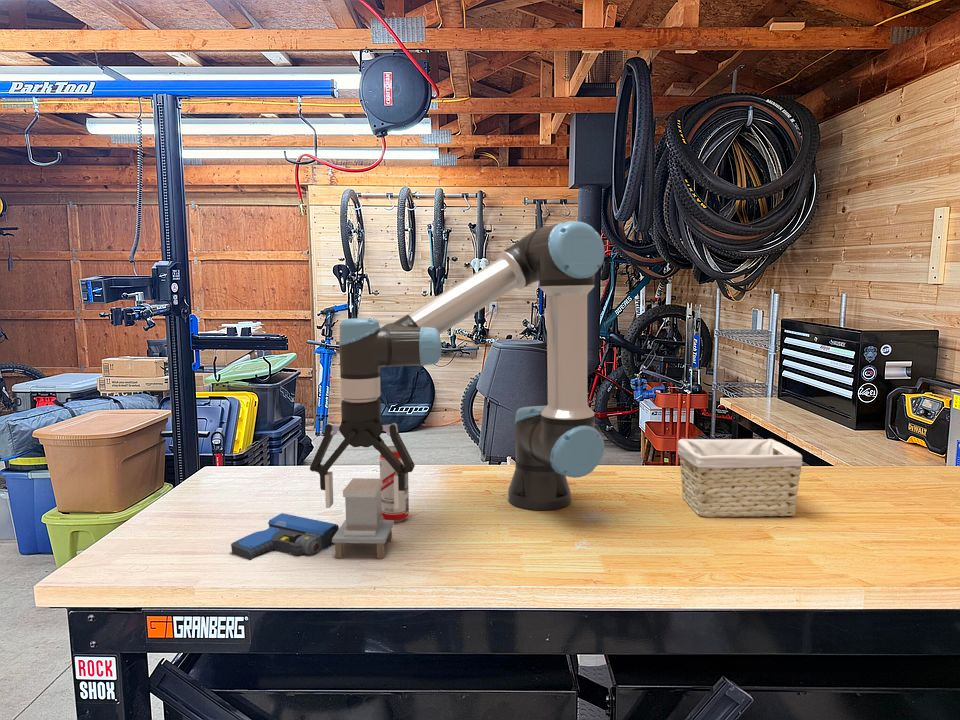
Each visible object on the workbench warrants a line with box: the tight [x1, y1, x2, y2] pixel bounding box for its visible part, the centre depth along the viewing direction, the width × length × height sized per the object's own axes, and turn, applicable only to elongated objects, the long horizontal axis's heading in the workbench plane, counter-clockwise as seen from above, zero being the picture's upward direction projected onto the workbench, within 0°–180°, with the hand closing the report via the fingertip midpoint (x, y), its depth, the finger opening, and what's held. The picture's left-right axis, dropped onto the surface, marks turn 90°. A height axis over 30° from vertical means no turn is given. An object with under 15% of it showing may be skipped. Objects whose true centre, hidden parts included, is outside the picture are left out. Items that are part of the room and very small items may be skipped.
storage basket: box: [677, 438, 803, 518], centre depth 147 cm, size 24×16×15 cm
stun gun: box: [230, 512, 340, 560], centre depth 125 cm, size 4×16×15 cm
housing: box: [342, 477, 384, 537], centre depth 124 cm, size 8×6×9 cm
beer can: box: [379, 445, 410, 524], centre depth 140 cm, size 6×6×16 cm
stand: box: [332, 519, 395, 560], centre depth 124 cm, size 10×10×4 cm
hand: (363, 506), depth 124 cm, fingers open, 13 cm apart
